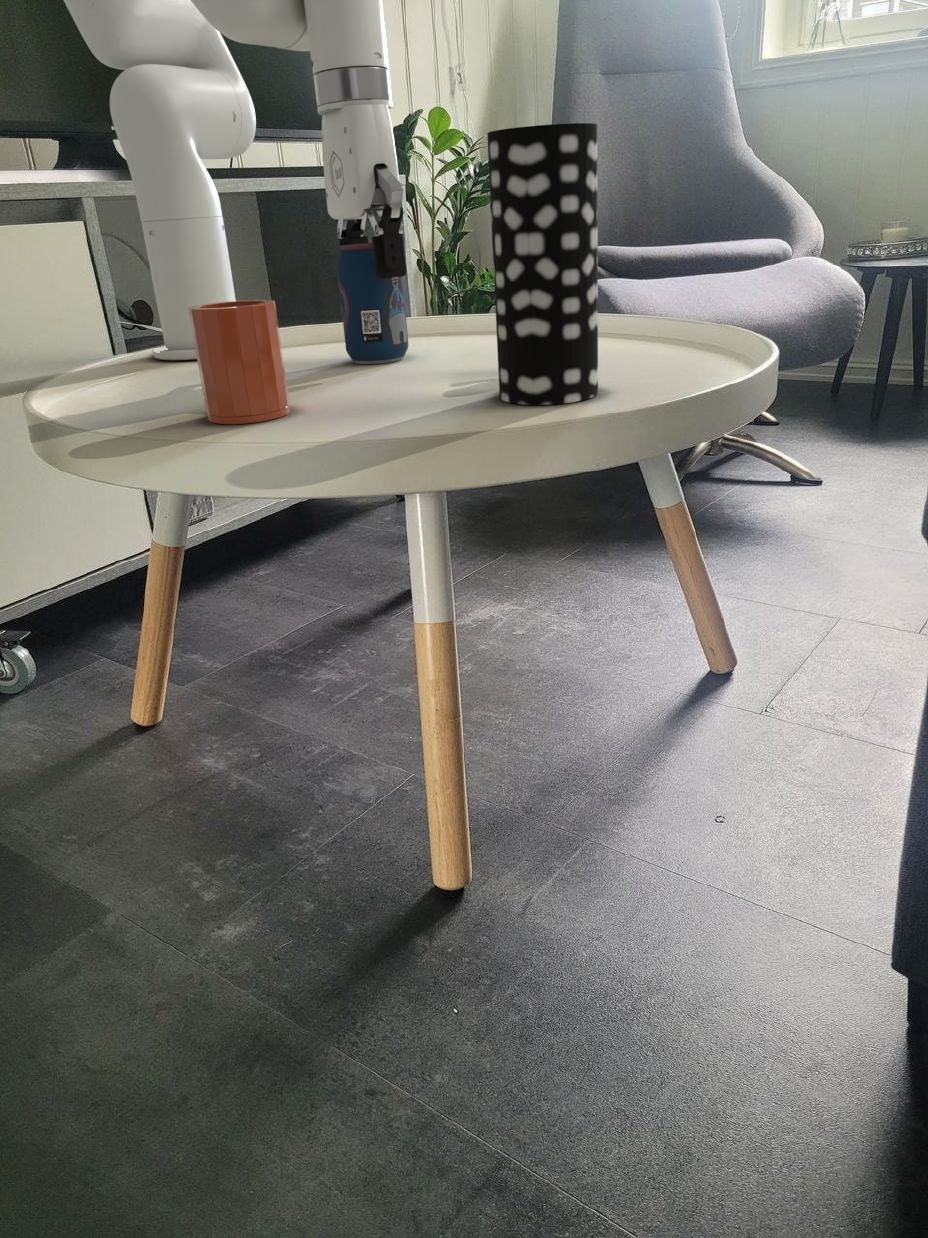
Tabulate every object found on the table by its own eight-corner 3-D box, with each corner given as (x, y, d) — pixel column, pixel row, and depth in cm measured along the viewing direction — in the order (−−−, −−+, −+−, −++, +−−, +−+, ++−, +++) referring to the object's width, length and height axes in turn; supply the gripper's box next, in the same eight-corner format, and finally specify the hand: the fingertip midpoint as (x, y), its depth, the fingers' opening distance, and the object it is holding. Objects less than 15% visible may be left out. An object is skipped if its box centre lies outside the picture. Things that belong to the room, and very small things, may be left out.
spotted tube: (527, 409, 73) (517, 125, 65) (483, 394, 80) (469, 136, 72) (617, 395, 76) (618, 121, 68) (567, 381, 83) (563, 132, 75)
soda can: (352, 357, 106) (339, 244, 101) (412, 353, 105) (402, 240, 100) (343, 366, 99) (329, 247, 94) (406, 362, 99) (396, 242, 94)
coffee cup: (200, 415, 79) (181, 305, 76) (276, 403, 82) (261, 297, 78) (219, 428, 74) (198, 311, 70) (300, 415, 76) (284, 302, 73)
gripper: (291, 107, 97) (315, 278, 104) (348, 81, 83) (371, 281, 90) (357, 105, 100) (376, 272, 107) (423, 79, 86) (440, 274, 93)
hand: (373, 276), depth 98 cm, fingers open, 9 cm apart
